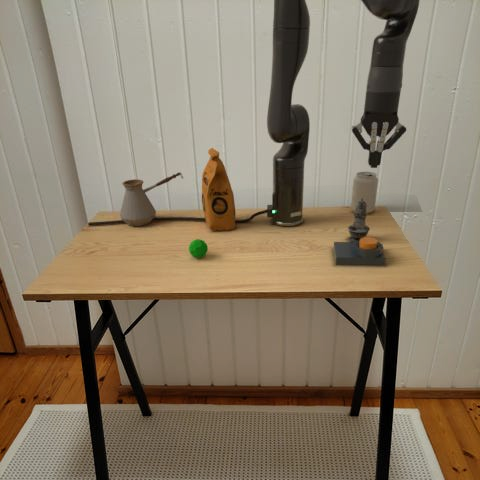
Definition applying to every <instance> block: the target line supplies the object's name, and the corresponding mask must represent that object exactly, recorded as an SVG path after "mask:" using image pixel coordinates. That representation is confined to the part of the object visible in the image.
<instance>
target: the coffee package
mask: <svg viewBox="0 0 480 480" xmlns="http://www.w3.org/2000/svg"><path fill="white" fill-rule="evenodd" d="M207 153H208V155H209V156H210V157H209V159H208V160H207V163H206V164H205V167H204V169H203V171H202V175H201V204H202V211H203V216H204V217H203V218H205V220H206V221H205V222H206V224H207V226H208V228H209V229H210V231H212V232H216V231H219V232H222V231H230V230H235V226H236V223H235V220H237V217H236V204H235V195H234V191H233V189H232V185H231V182H230V179H229V176H228V173H227V170H226V167H225V165H224V162H223V160H221V158H220V152H219V151H218V150H216V149H214V147H211V148H209V149H208V151H207Z"/></svg>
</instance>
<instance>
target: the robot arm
mask: <svg viewBox="0 0 480 480" xmlns="http://www.w3.org/2000/svg"><path fill="white" fill-rule="evenodd" d="M360 1H361V3H362V5H364V7H365V9H367V11H368V13H370V14H371V15H372V16H374V17H375V18H377V19H379V20H382V21H386V22H385V25H384V28H383V31H382V32H381V33H380V34H378V35H376V36H375V37H374V39H373V42H372V47H371V52H370V53H371V55H370V64H369V65H370V66H369V70H368V74H367V81H366V89H365V97H364V107H363V113H362V114H363V115H362V116H361V117H360V121H359V122H358V123H357V124H355V125H351V132H352V134H353V136H354V137H355V138H356V139H357V142H358V143H359V144H360V146H361V147H362V149H363V150H366V151H368V157H367V158H368V159H367V163H368V166H369V167H370V168H371V169H378V166H380V165H381V162H382V157H383V156H382V155H383V152H384V151H386V150H390V149H391V148H392V147H393V146H394V145H395V144H396V143H397V142H398V141H399V139H400V138H402V136H403V135H404V134H405V133H406V132H407V127H406V126H405V125H404V124H402V123H401V122H399V120H400V119H399V116H398V113H399V105H400V99H401V91H402V87H403V76H404V62H405V56H406V49H407V48H406V47H407V42H408V40H409V38H410V36H411V32H412V29H413V26H414V23H415V21H416V18H417V14H418V11H419V7H420V1H421V0H360ZM310 31H311V16H310V12H309V8H308V4H307V2H306V0H273V20H272V44H271V45H272V46H271V47H272V53H271V54H272V55H271V56H272V57H271V72H270V73H271V76H270V77H271V78H270V89H269V98H268V104H267V105H268V106H267V115H266V129H267V134H268V137H269V138H270V140H271V141H272V142H273V143H275V144H282V145H281V146H280V148H279V150H278V151H277V152H275V153H274V155H273V157H272V194H271V204H267V205H266V206H267V207H266V209H264V210H260V211H257V212H255V213H253V214H252V215H250V216H249V217H248V218H245V219H235V224H244V223H247V222H251V221H252V220H253V219H254V218H255V217H258V216H260V215H264V214H266V218H272V219H271V223H272V225H275V226H280V227H295V226H298V225H301V224H302V223H303V221H304V217H303V216H304V214H303V213H304V211H303V210H304V187H305V186H304V183H305V161H306V158H307V156H308V151H309V143H310V142H309V139H310V130H311V129H310V126H311V122H310V115H309V112H308V110H307V108H305V106H304V105H302V104H300V103H294V104H293V103H292V101H293V92H294V88H295V87H294V86H295V84H296V80H297V78H298V76H299V73H300V72H301V69H302V67H303V65H304V63H305V61H306V57H307V55H308V51H309V44H310V33H311V32H310ZM363 129H364V131H365V132H366V135H368V136H369V138H368V139H369V142H367V141H366V139H365V138H364V137H363V135H362V132H363ZM392 131H393V133H392V134H391V135H390V137H389V138H388V139H387V136H388V135H389V134H390V133H391V132H392ZM386 139H387V140H386ZM153 221H197V222H198V221H200V222H201V221H203V222H206V220H205V217H197V216H195V217H194V216H193V217H192V216H164V217H163V216H161V217H154V218H153V220H151V222H153ZM113 224H126V223H125V222H124V221H123V220H122V219H119V220H106V221H105V220H104V221H91V222H88V223H87V225H88V226H100V225H102V226H103V225H113Z"/></svg>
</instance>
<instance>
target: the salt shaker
mask: <svg viewBox="0 0 480 480" xmlns="http://www.w3.org/2000/svg"><path fill="white" fill-rule="evenodd" d="M366 207H367V204H366V203H365V202H364V201H363V199H361V201H360V202H358V203H357V204H356V211H355V212H354V214H353V217H354V218H353V223H352V224H350V225H348V226H347V229H348V233H349V236H350V237H348V238H347V242H356V241H360V239H361V238H364V237H367V235H368V234H369V231H371V229H370V227H369V226H368V225H366V219H367V217H368V214H366Z"/></svg>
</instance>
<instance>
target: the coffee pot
mask: <svg viewBox="0 0 480 480" xmlns="http://www.w3.org/2000/svg"><path fill="white" fill-rule="evenodd" d="M179 176H180V177H181V179H184V176H183V173H181V171H180V172H176V174H172V175H171V176H168V177H165V178H163V179H162V180H160V181H158V182H156V183H155V184H153V185H151V186H149V187H146V188H144V189H143V184H144V180H142V179H128V180H124V181H123V182H122V186H124V189H125V191H124V195H123V199H122V204H121V208H120V211H119V218H120V220H123V221H124V222H125V223H124V224H127V225H128V226H131V227H142V226H146V225H149V224H150V223H152V221H151V220H153V218H156V215H157V211H156V208H155V207H154V205H153V204H152V202H151V200H150V198H149V196H148V195H147V194H146V193H147V192H150V191H151V190H154V189H155V188H157V187H159V186H161V185H164V184H167V183H169V182H170V181H172V180H173V179H176V178H177V177H179Z"/></svg>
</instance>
